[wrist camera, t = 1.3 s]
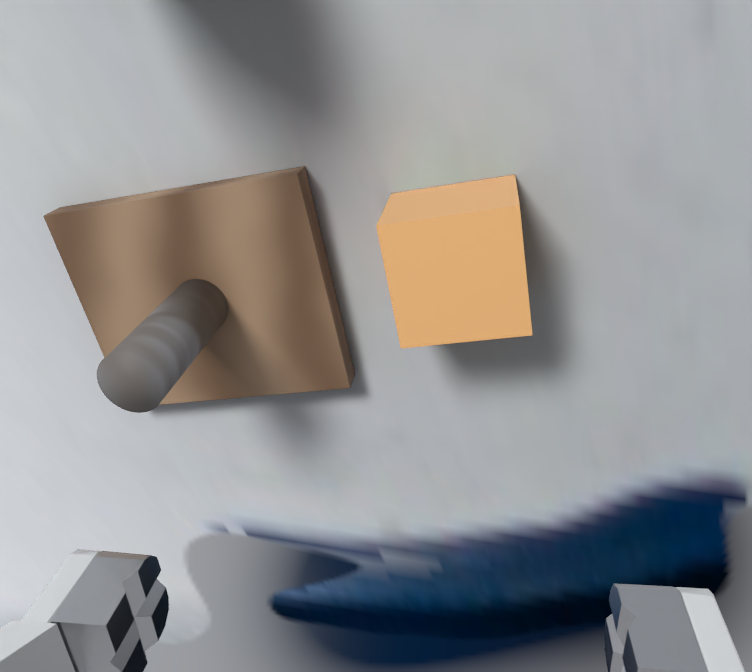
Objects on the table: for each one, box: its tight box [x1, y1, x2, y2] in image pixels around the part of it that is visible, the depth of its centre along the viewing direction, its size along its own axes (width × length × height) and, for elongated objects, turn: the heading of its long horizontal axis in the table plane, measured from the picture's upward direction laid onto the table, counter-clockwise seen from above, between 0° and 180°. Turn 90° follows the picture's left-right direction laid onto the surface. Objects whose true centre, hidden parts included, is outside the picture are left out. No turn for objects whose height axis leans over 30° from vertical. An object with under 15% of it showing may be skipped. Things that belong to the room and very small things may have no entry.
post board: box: [44, 166, 355, 412], centre depth 32 cm, size 14×12×10 cm
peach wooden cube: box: [376, 175, 532, 348], centre depth 31 cm, size 6×6×5 cm
